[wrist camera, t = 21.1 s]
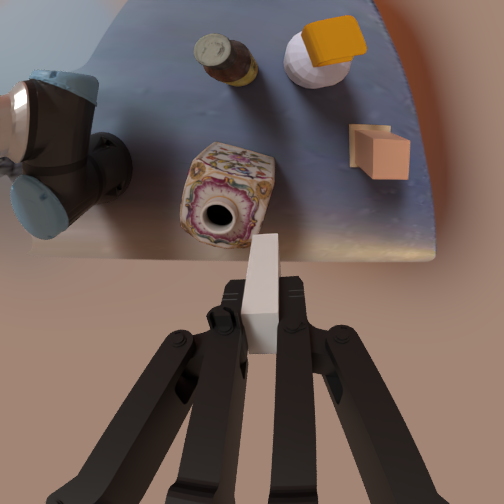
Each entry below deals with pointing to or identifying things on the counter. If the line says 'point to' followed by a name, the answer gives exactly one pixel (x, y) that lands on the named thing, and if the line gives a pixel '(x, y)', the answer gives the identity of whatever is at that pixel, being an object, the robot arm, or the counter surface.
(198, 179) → the decorative jar
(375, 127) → the post
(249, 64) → the sauce bottle
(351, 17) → the soap bottle
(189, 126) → the counter surface
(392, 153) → the peach block
